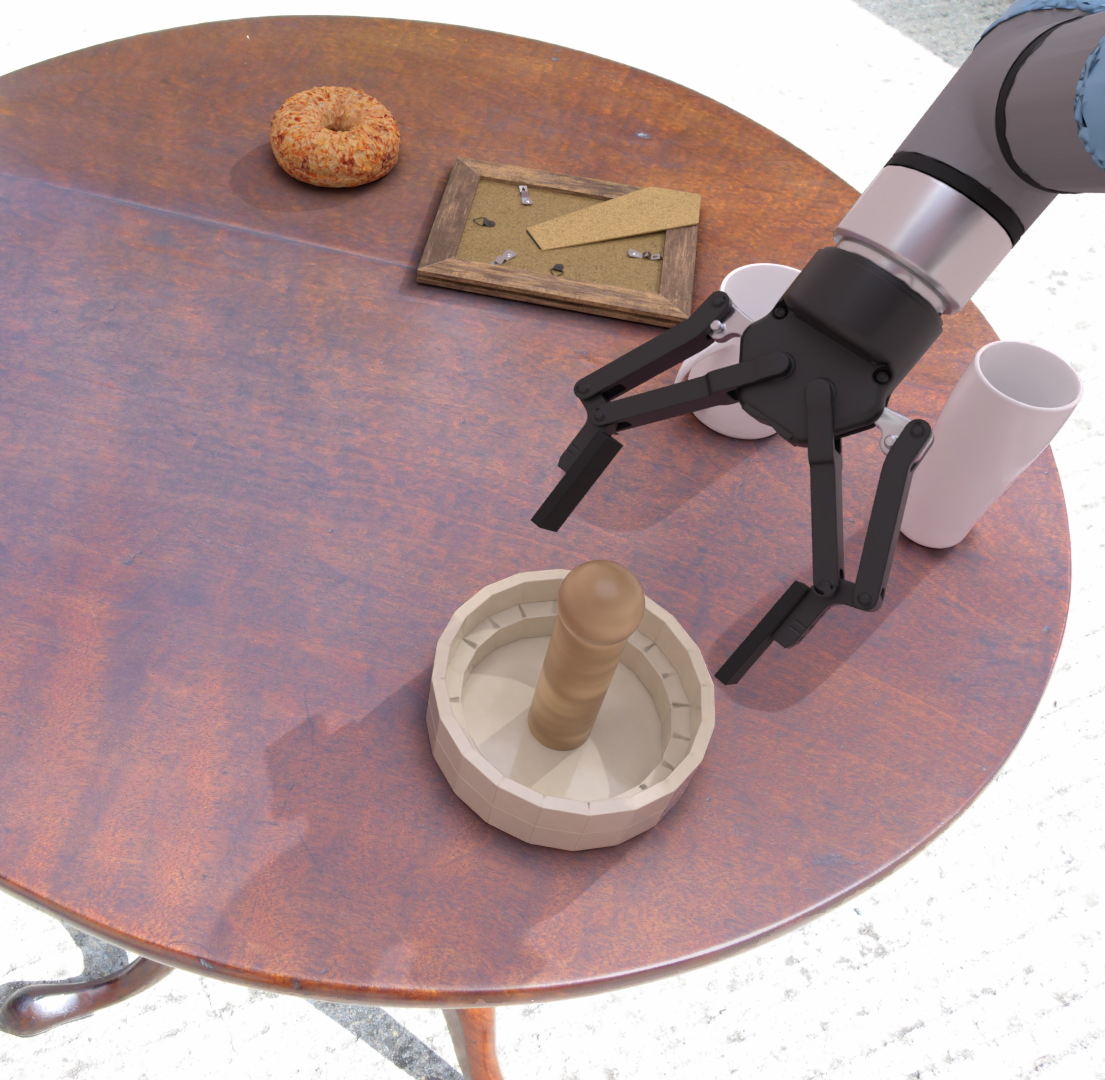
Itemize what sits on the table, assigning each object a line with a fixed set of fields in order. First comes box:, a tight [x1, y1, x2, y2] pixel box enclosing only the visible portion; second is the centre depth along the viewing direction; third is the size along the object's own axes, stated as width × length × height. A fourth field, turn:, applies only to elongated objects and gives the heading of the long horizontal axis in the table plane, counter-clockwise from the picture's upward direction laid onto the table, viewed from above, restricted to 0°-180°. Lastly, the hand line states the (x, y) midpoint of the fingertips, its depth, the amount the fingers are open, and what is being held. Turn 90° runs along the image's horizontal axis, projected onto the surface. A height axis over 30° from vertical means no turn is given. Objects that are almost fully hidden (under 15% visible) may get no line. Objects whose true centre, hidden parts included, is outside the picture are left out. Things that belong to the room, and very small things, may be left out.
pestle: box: [528, 559, 645, 751], centre depth 61 cm, size 5×5×15 cm
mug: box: [673, 262, 802, 440], centre depth 82 cm, size 9×12×11 cm
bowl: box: [425, 568, 716, 852], centre depth 65 cm, size 17×17×6 cm
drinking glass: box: [900, 339, 1084, 549], centre depth 73 cm, size 7×7×15 cm
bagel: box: [269, 85, 402, 189], centre depth 104 cm, size 13×14×5 cm
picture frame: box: [416, 155, 702, 329], centre depth 98 cm, size 19×2×24 cm
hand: (629, 599), depth 60 cm, fingers open, 13 cm apart
